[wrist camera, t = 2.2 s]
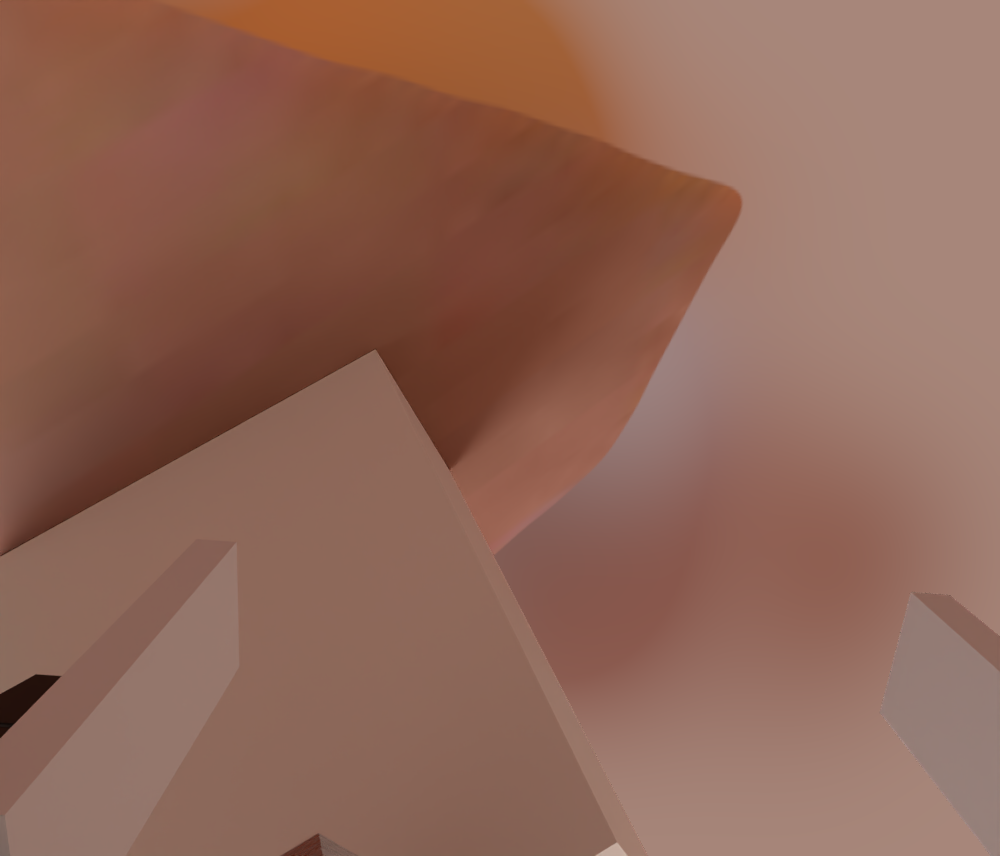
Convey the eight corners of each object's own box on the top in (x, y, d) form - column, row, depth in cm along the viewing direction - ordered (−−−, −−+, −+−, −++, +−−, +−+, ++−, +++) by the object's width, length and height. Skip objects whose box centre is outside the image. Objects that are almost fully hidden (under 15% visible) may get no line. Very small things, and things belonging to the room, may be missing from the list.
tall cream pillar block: (-1, 557, 50) (-184, 1362, 23) (375, 349, 52) (628, 865, 24) (134, 649, 59) (120, 1299, 32) (449, 470, 61) (692, 943, 34)
